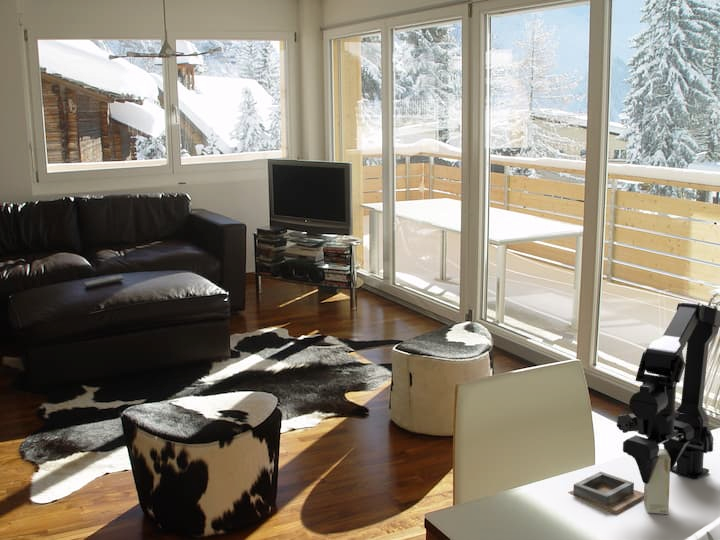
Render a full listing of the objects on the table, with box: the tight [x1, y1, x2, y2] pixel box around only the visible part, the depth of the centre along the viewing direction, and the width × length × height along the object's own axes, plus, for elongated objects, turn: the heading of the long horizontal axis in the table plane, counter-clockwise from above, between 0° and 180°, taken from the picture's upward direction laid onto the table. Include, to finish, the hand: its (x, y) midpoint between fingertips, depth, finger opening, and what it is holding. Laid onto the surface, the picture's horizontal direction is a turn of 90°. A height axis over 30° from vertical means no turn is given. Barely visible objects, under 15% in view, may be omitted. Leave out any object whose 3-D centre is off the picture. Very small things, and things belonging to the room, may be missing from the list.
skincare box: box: [643, 448, 671, 515], centre depth 173 cm, size 6×4×12 cm
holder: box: [567, 471, 644, 515], centre depth 180 cm, size 12×12×3 cm
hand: (657, 476), depth 173 cm, fingers open, 9 cm apart
